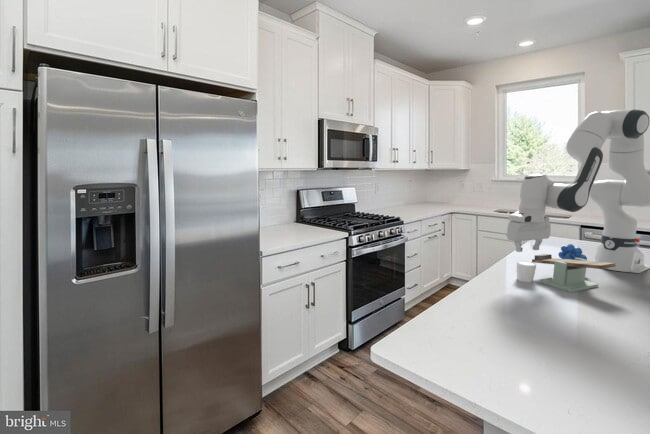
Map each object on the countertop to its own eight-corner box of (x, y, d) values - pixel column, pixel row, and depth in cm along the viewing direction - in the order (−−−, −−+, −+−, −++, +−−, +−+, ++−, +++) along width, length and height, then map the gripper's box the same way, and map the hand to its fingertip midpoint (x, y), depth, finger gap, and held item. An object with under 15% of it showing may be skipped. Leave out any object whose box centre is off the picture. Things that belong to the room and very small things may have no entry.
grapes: (551, 269, 157) (553, 242, 155) (560, 267, 159) (563, 241, 158) (579, 277, 146) (582, 248, 144) (588, 275, 149) (592, 247, 147)
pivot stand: (566, 277, 146) (569, 254, 145) (598, 286, 135) (601, 262, 134) (539, 282, 140) (541, 258, 138) (570, 292, 129) (573, 267, 128)
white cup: (537, 283, 138) (539, 266, 137) (518, 282, 140) (519, 264, 139) (531, 277, 145) (532, 261, 144) (512, 276, 146) (514, 260, 145)
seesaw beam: (530, 264, 146) (529, 255, 146) (547, 262, 150) (546, 253, 150) (599, 271, 122) (599, 261, 122) (617, 268, 126) (616, 258, 126)
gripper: (541, 213, 145) (538, 247, 147) (505, 215, 137) (502, 250, 139) (556, 216, 139) (553, 250, 141) (519, 218, 131) (516, 254, 134)
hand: (527, 250), depth 140 cm, fingers open, 8 cm apart
